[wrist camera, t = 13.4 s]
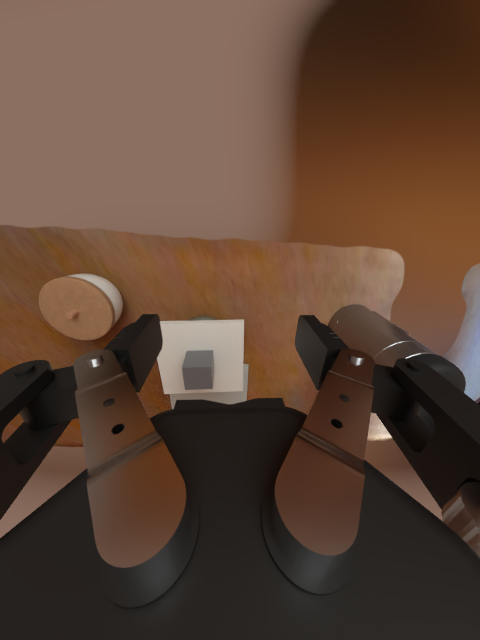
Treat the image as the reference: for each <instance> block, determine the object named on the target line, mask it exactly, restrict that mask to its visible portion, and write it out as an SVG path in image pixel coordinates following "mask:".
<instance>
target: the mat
mask: <svg viewBox="0 0 480 640" xmlns="http://www.w3.org/2000/svg"><path fill="white" fill-rule="evenodd" d="M247 382H248V364H243V391H233V392H206V393H179V394H170V400H171V406H172V409H174V406H175V403H176V400H196V399H204V400H209V401H214V402H219V403H224V404H235V403H240V402H244V401H247Z"/></svg>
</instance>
